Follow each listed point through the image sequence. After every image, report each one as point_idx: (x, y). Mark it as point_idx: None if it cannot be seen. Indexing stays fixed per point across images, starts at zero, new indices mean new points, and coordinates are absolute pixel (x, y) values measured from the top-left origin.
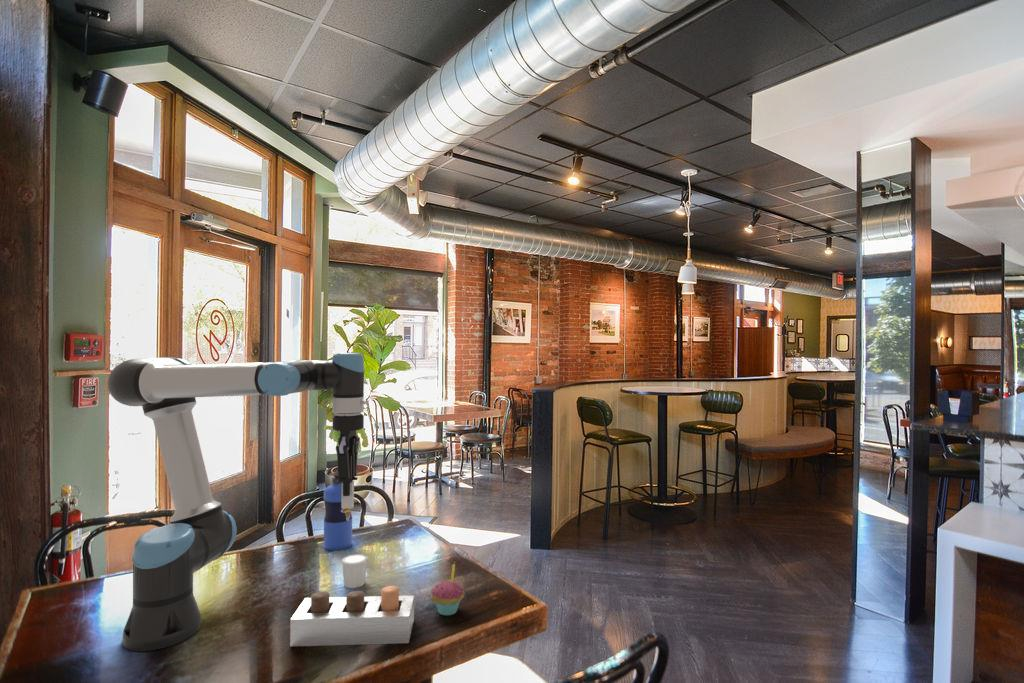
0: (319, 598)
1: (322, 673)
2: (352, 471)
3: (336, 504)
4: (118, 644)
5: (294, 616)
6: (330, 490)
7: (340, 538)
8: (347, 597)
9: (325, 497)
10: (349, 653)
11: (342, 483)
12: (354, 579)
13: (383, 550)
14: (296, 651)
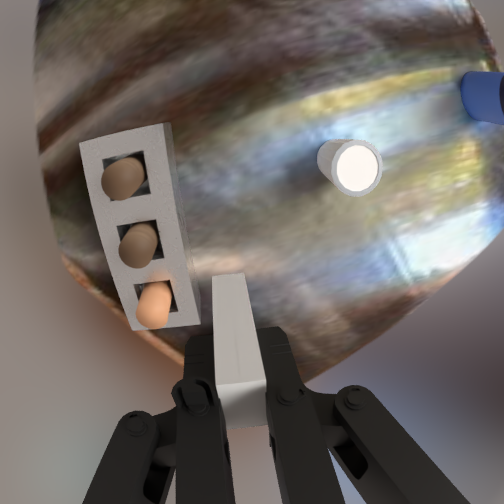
0: (106, 186)
1: (53, 221)
2: (278, 477)
3: None
4: None
5: (88, 144)
6: None
7: (478, 104)
8: (121, 241)
9: None
10: (97, 237)
11: (217, 383)
12: (322, 167)
13: (457, 181)
14: None
